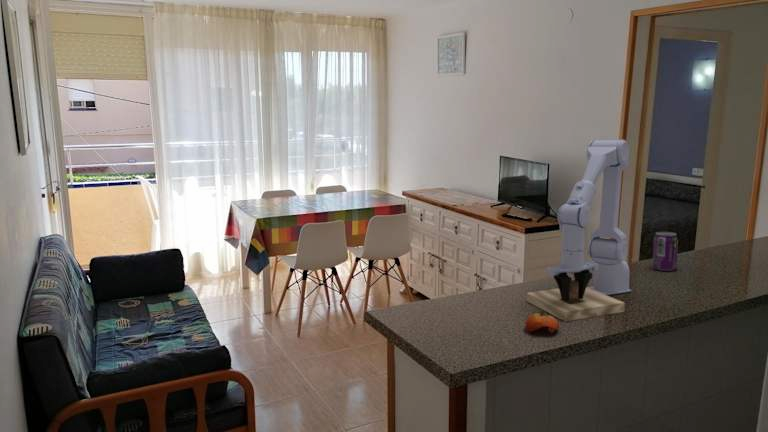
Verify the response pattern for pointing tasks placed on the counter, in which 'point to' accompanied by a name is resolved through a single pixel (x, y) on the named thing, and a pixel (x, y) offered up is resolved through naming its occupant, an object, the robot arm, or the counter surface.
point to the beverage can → (665, 251)
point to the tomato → (541, 322)
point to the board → (584, 308)
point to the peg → (573, 292)
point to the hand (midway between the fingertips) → (572, 299)
